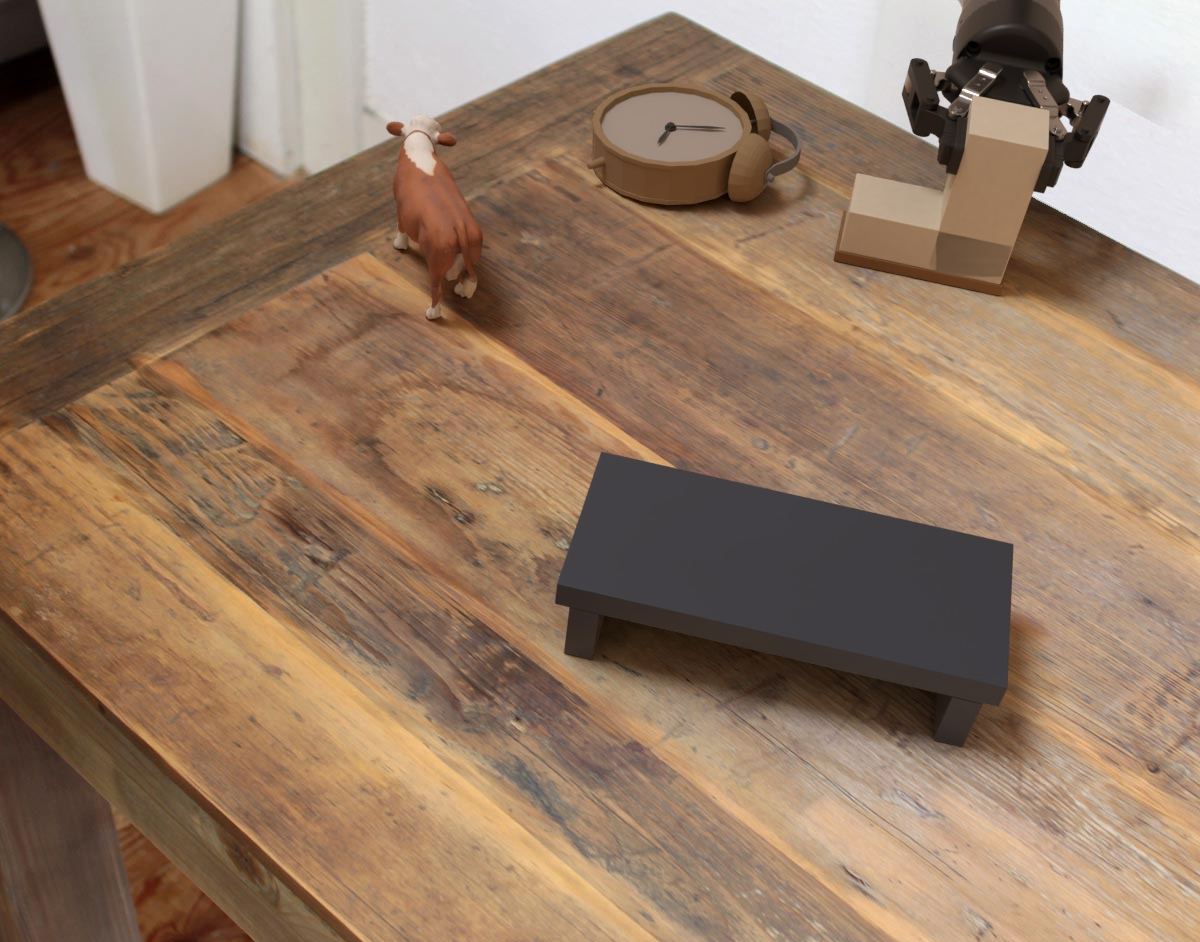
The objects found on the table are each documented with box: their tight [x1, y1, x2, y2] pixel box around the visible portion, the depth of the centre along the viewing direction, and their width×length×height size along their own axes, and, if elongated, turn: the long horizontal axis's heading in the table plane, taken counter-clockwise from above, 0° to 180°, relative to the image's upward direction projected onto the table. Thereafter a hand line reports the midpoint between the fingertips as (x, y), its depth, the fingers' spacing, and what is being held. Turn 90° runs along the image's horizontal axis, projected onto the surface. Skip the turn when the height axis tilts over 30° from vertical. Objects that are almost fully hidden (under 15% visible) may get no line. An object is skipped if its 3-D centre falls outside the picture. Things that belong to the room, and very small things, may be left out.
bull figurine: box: [385, 114, 484, 320], centre depth 93 cm, size 4×13×8 cm, turn 16°
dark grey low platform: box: [554, 451, 1014, 748], centre depth 76 cm, size 22×10×5 cm, turn 77°
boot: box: [833, 95, 1050, 296], centre depth 98 cm, size 11×5×11 cm, turn 77°
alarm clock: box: [586, 82, 803, 206], centre depth 106 cm, size 11×5×15 cm
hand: (999, 170), depth 94 cm, fingers closed on boot, 5 cm apart
